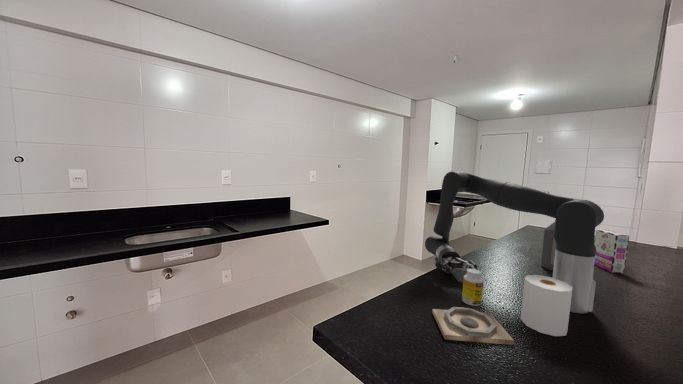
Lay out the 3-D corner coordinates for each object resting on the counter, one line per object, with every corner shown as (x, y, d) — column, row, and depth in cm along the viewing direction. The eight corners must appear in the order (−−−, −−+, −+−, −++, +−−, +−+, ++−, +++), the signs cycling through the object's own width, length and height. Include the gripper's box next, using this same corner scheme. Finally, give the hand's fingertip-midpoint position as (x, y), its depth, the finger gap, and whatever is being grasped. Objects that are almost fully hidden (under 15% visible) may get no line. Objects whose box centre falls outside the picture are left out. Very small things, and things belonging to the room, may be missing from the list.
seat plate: (490, 317, 76) (490, 308, 76) (513, 344, 64) (514, 335, 64) (432, 312, 77) (432, 304, 77) (444, 339, 65) (445, 330, 65)
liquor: (575, 273, 111) (584, 201, 108) (553, 272, 111) (561, 200, 108) (558, 265, 120) (565, 198, 117) (537, 264, 120) (544, 198, 117)
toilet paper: (571, 342, 66) (577, 294, 65) (521, 327, 71) (525, 283, 70) (564, 322, 74) (569, 280, 73) (519, 310, 80) (523, 271, 79)
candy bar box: (625, 274, 112) (630, 235, 110) (611, 273, 112) (616, 234, 111) (603, 264, 123) (607, 229, 121) (591, 263, 124) (595, 228, 122)
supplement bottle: (475, 308, 80) (477, 275, 79) (458, 300, 85) (460, 269, 84) (485, 304, 83) (487, 272, 82) (468, 296, 88) (470, 266, 87)
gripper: (430, 246, 109) (441, 260, 93) (466, 248, 108) (484, 262, 92) (429, 264, 110) (440, 281, 94) (465, 266, 109) (482, 283, 93)
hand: (461, 271), depth 93 cm, fingers open, 8 cm apart
